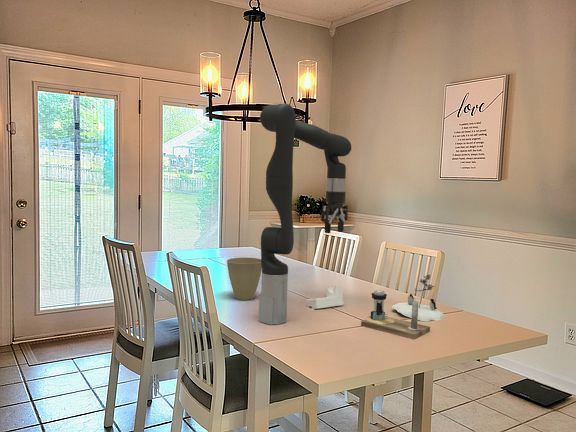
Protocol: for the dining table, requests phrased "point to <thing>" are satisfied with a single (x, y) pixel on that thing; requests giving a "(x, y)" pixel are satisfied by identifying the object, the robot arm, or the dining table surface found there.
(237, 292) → the plant pot
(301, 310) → the dining table surface
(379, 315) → the push button
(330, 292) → the bracket
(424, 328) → the gauge board
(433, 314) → the figurine
